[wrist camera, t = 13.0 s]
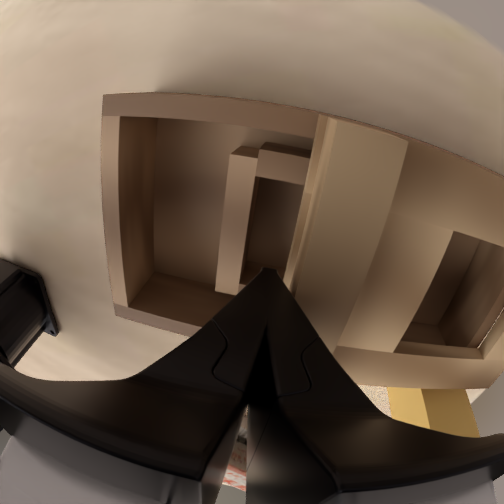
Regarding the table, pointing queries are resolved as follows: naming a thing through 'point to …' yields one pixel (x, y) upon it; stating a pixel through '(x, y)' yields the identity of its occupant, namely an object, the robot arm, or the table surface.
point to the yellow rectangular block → (434, 409)
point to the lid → (388, 253)
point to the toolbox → (240, 214)
